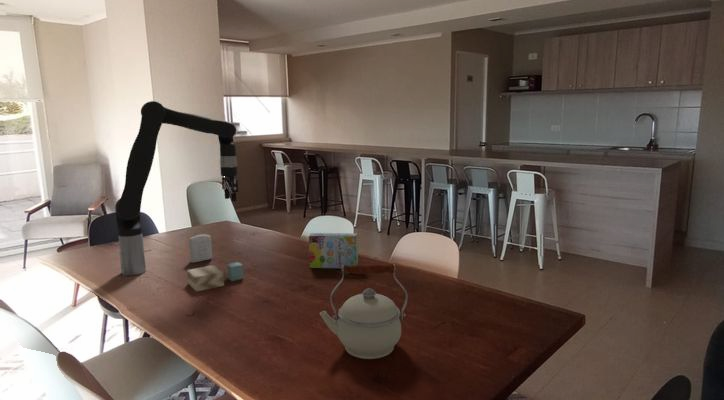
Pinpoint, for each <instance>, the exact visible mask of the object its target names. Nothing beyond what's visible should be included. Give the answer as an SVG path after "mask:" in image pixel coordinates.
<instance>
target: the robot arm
mask: <svg viewBox="0 0 724 400" xmlns="http://www.w3.org/2000/svg"><path fill="white" fill-rule="evenodd" d="M140 115H141V119H140V123H139V124H140V126H139V129H138V133H137V136H136V138H135V139H134V141H133V144H132V147H131V149H130V152H129V156H128V160H127V163H126V164H127V165H126V169H125V181H124V188H123V190H122V194H121V197H120V198H118V200H117V201H116V203H115V206H114V208H115V209H114V210H115V217H116V219H115V220H116V227H117V236H118V245H119V259H120V270H121V274H122V276H123V277H125V276H127V277H128V276H137V275H141V274H145V272H146V271H147V269H146V267H147V266H146V257H145V248H144V247H145V246H144V236H143V228H142V227H143V226H142V221H141V209H142V208H141V207H142V202H143V201H142V200H143V194H144V189H145V186H146V183H147V182H148V178H149V176H150V172H151V170H152V166H153V163H154V159H155V158H154V157H155V152H156V148H157V142H158V135H159V133H160V129H161V128H162V124H165V125H172V126H177V127H181V128H185V129H188V130H191V131H192V130H193V131H195V132H199V133H204V134H211V135H215V136H217V138H218V143H219V156H220V158H219V163H220V164H219V166H220V176H221V186H222V187H221V189H222V190H223V191H224V199H225V200H226V199H227V200H228V199H229V200H231V202H236V201H237V193H239V182H238V179H237V178H235V177H237V176H238V159H237V151H236V145H235V143H234V136H235V135H236V133H237V129H236V126H235V125H234V123H231V122H229V121H223V120H220V119H219V120H218V119H213V118H211V117H208V116H207V117H206V116H202V115H199V114H193V113H188V112H187V113H186V112H182V111H177V110H173V109H171V108H167V107H166V106H163V104H162V103H161V102H159V101H154V100H151V101H147V102H145V103H144V104H143V105H142V107H141V109H140Z"/></svg>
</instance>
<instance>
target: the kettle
mask: <svg viewBox="0 0 724 400" xmlns="http://www.w3.org/2000/svg"><path fill="white" fill-rule="evenodd" d="M340 269H341V272H342V277H341V279H340V281H338V283H337V284H336V285H335V287H334V288H333V289H332V291H331V293H330V299H329V302H330V305H331V308H332V310H333V313H334V314H335V315H332V316H330V315H329V314H328V313H327V311H326V310H322V311H320V312H319V315H320V317H321V318H322V320H323V321H324V322H325V324H326V326H327V327H328V329H329V330H330V331H331V332H333V334H335V335H336V336H337V338H338V339H339V340H340V342H341V344H342V345H343V346H344V349H345V350H346V352H347V353H348V354H349V355H350V356H353V357H354V358H357V359H363V360H374V359H375V360H376V359H381V358H384V357H386V356H388V355H390V354H391V353H392V352H393V351H394V349H395V345H397V343H398V342H399V340H400V338H401V335H402V324H401V320H402V321H403V318H404V317H406V313H404V311H405V309H406V307H407V304H408V300H409V299H408V298H409V296H408V292H407V290H406V288H405V287H404V286H403V285H402V283H401V282H400V281H399V280H398V279H397V277H396V269H397V268H396V264H394V263H390V264H379V263H378V264H376V263H375V264H370V263H369V264H358V265H354V266H348V265H343V268H340ZM383 273H389V274H393V279H394V280H395V281H396V282H397V284H398V285H399V286H400V287H401V288H402V290H403V292H404V293H405V301H404V302H403V303H404V304H403V306H402V308H401V311H400V309H399V307H398V306H397V305H396V304H395V302H394V301H393V300H392V299H390V298H389V297H388V296H385V295H383V294H379V293H377V292H376V291H375V290H374V289H373V288H370V287H368V288H365V289H364V290H363V291H362V293H359V294H356V295H353V296H351V297H349V298H348V299H347V300H346V301H344V303H343V304H342V306H341V307H340V308H339V309H338V311H337V310H336V308H335V306H334V303H333V299H332V298H333V297H332V296H333V294H334V292H335V291H337V289H338V287H339V286H340V285H341V284H342V283H343V281H344V277H345V275H349V274H355V275H356V274H359V275H363V274H365V275H367V274H368V275H369V274H371V275H372V274H383ZM400 319H401V320H400Z"/></svg>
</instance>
